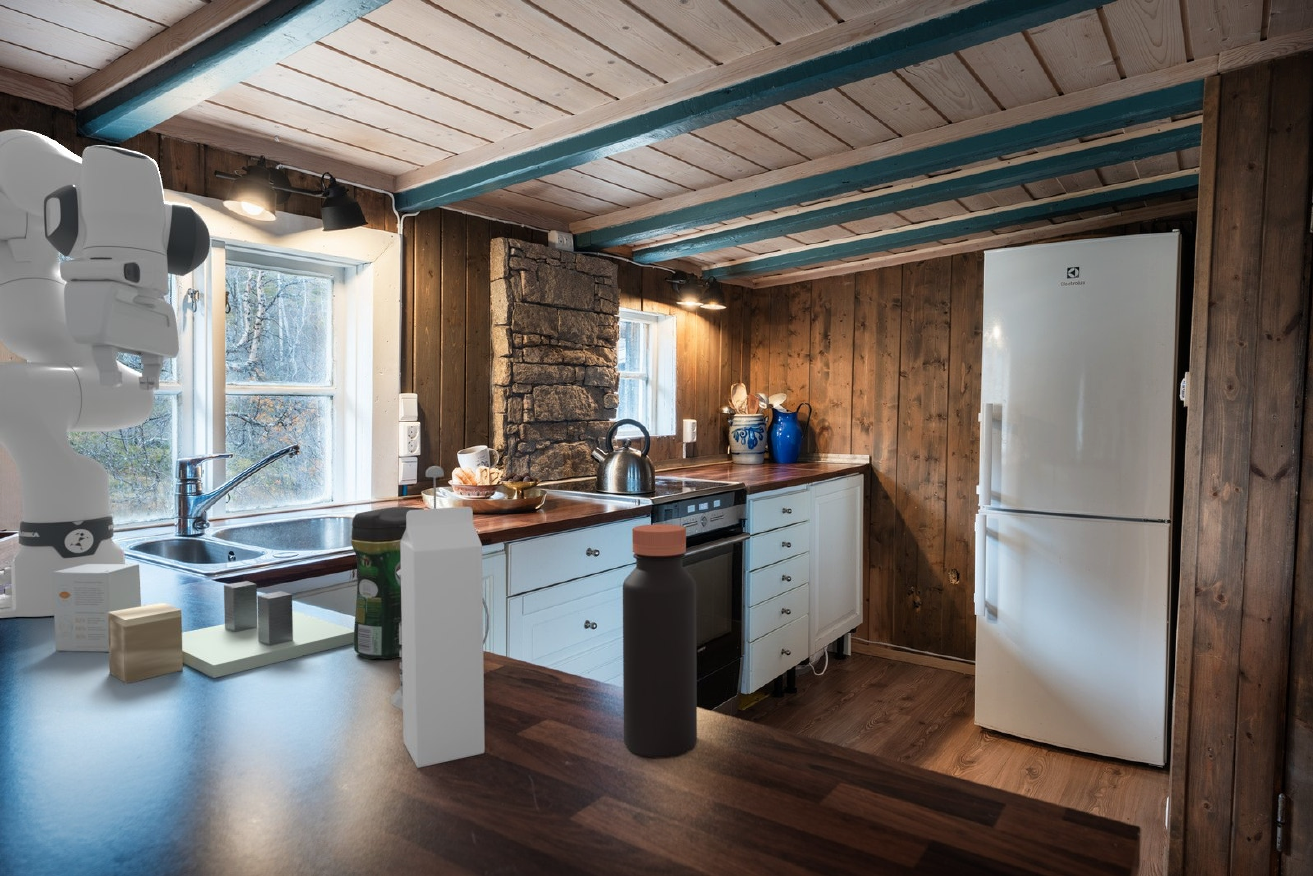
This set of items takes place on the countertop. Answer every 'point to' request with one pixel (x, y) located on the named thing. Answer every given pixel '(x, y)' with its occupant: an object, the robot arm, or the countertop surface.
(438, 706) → the milk
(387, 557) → the coffee jar
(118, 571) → the small box
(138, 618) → the wood grain cuboid
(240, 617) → the post
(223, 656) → the board
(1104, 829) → the countertop surface
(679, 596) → the bottle
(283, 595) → the post
